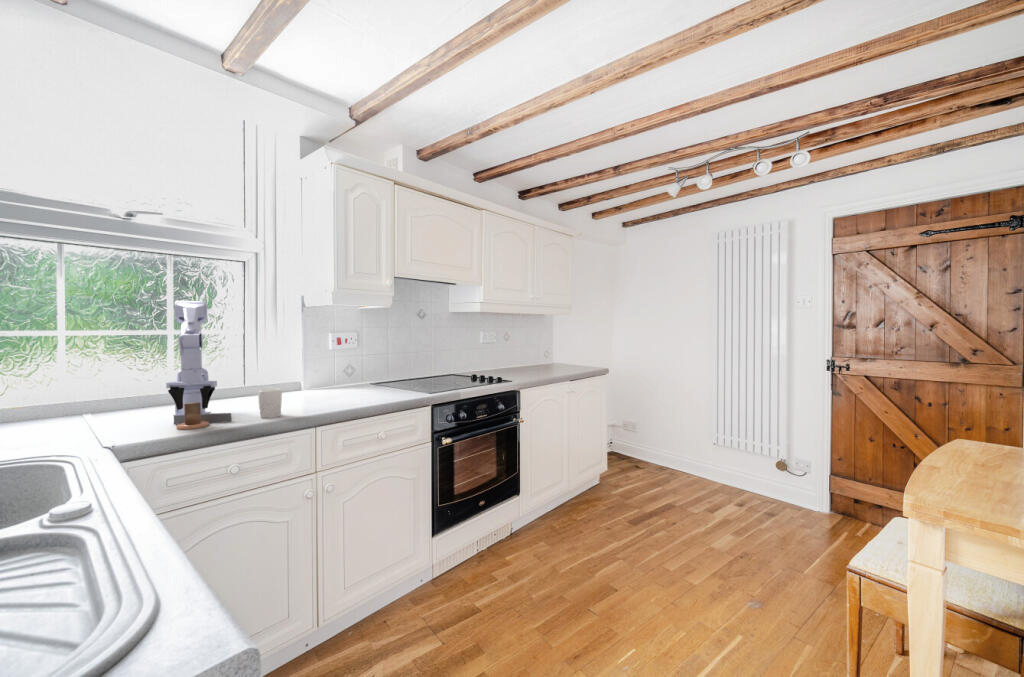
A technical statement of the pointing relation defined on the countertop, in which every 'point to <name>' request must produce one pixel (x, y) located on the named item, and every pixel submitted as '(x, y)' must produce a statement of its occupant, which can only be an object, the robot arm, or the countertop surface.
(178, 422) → the smoky grey fence
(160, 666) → the countertop surface
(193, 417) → the walnut peg
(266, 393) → the white cup
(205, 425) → the terracotta coaster
